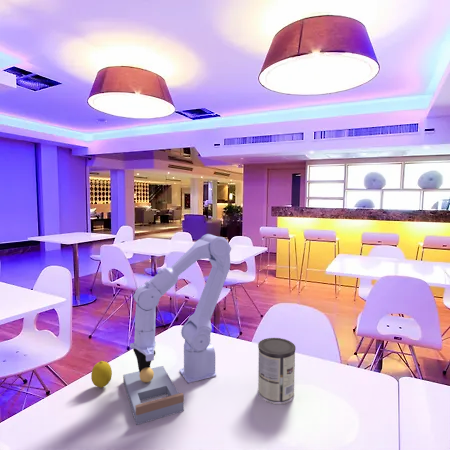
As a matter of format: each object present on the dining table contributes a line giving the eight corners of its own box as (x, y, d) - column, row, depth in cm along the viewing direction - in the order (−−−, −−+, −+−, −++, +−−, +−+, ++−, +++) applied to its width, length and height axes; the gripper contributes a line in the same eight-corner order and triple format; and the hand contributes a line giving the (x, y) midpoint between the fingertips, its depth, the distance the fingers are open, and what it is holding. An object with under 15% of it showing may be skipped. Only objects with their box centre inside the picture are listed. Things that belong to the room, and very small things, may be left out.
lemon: (105, 394, 90) (104, 367, 89) (87, 392, 91) (86, 364, 90) (115, 383, 95) (115, 357, 95) (99, 381, 97) (98, 355, 96)
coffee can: (263, 379, 98) (264, 334, 97) (297, 388, 94) (299, 341, 93) (252, 398, 89) (253, 349, 88) (289, 409, 84) (290, 357, 83)
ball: (152, 364, 95) (152, 366, 91) (154, 378, 94) (155, 381, 91) (138, 368, 94) (138, 370, 90) (141, 382, 93) (140, 385, 89)
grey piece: (163, 373, 101) (162, 359, 101) (183, 410, 83) (183, 394, 83) (123, 382, 96) (123, 368, 96) (136, 424, 78) (136, 407, 78)
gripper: (126, 320, 97) (125, 364, 98) (135, 340, 84) (134, 390, 85) (150, 318, 100) (148, 360, 101) (162, 336, 87) (160, 384, 88)
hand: (143, 373), depth 93 cm, fingers closed, pressing on ball
